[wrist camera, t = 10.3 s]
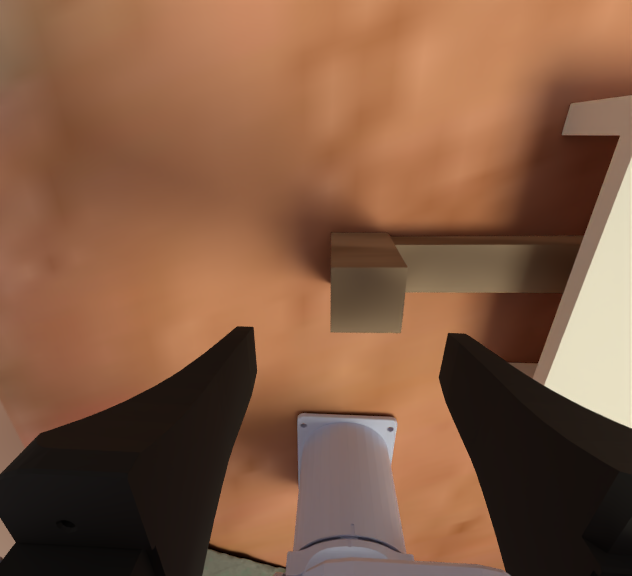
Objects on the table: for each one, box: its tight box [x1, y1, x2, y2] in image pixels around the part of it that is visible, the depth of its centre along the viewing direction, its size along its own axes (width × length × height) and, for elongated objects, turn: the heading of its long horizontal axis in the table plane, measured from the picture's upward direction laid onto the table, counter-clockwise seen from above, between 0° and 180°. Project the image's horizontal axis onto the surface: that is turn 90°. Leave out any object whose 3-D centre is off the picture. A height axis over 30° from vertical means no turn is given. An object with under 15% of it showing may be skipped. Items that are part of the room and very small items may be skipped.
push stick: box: [331, 232, 584, 333], centre depth 18 cm, size 4×17×6 cm, turn 91°
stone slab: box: [202, 549, 286, 576], centre depth 38 cm, size 22×3×10 cm
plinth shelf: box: [508, 95, 632, 428], centre depth 18 cm, size 18×9×5 cm, turn 179°
